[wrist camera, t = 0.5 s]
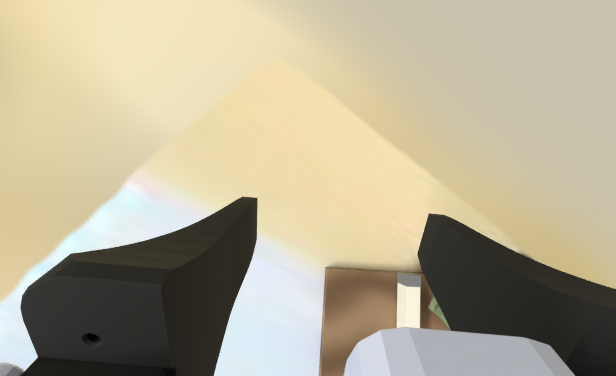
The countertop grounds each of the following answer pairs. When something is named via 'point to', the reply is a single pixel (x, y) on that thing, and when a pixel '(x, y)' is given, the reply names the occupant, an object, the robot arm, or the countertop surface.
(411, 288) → the dial lever
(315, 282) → the countertop surface
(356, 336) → the dial board
